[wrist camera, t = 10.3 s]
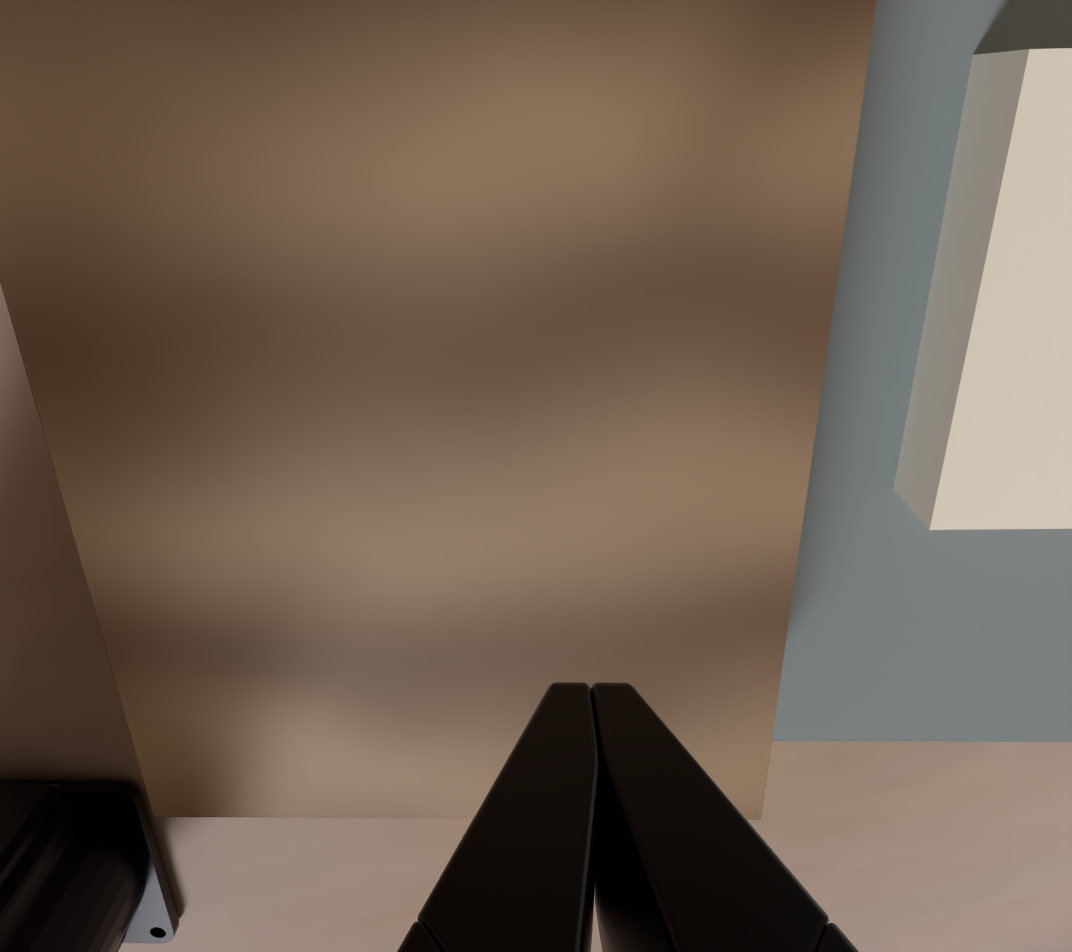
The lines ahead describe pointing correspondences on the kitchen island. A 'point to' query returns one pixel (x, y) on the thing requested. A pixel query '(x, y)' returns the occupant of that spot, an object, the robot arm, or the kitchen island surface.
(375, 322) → the walnut deck
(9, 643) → the kitchen island surface
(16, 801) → the robot arm
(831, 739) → the slate mat
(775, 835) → the kitchen island surface
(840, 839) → the kitchen island surface
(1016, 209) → the cream rectangular block
